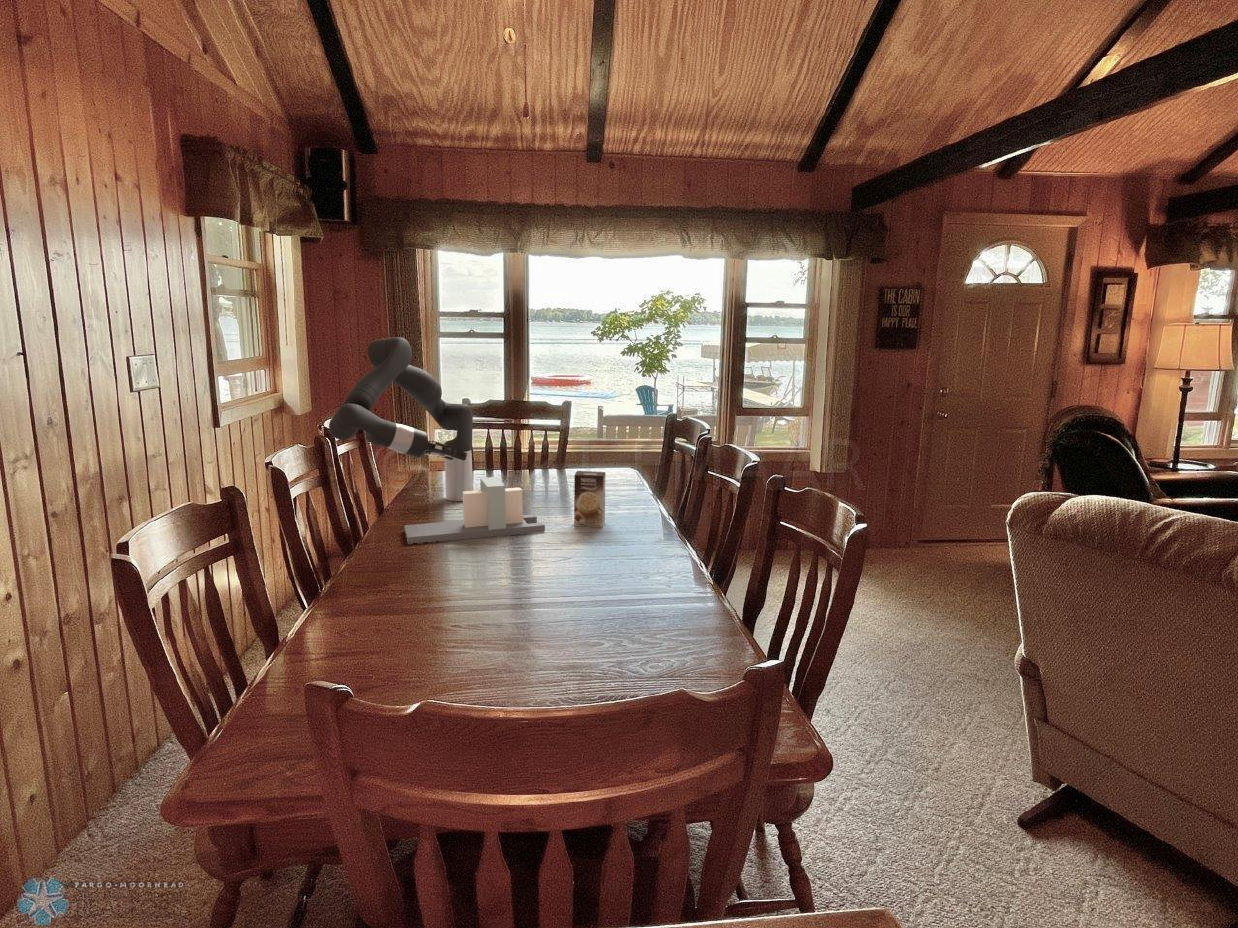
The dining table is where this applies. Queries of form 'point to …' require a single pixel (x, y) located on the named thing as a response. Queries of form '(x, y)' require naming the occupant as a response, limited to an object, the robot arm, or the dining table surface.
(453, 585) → the dining table surface
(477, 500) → the block
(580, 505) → the coffee box
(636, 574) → the dining table surface
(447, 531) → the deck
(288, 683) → the dining table surface
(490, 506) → the tunnel
